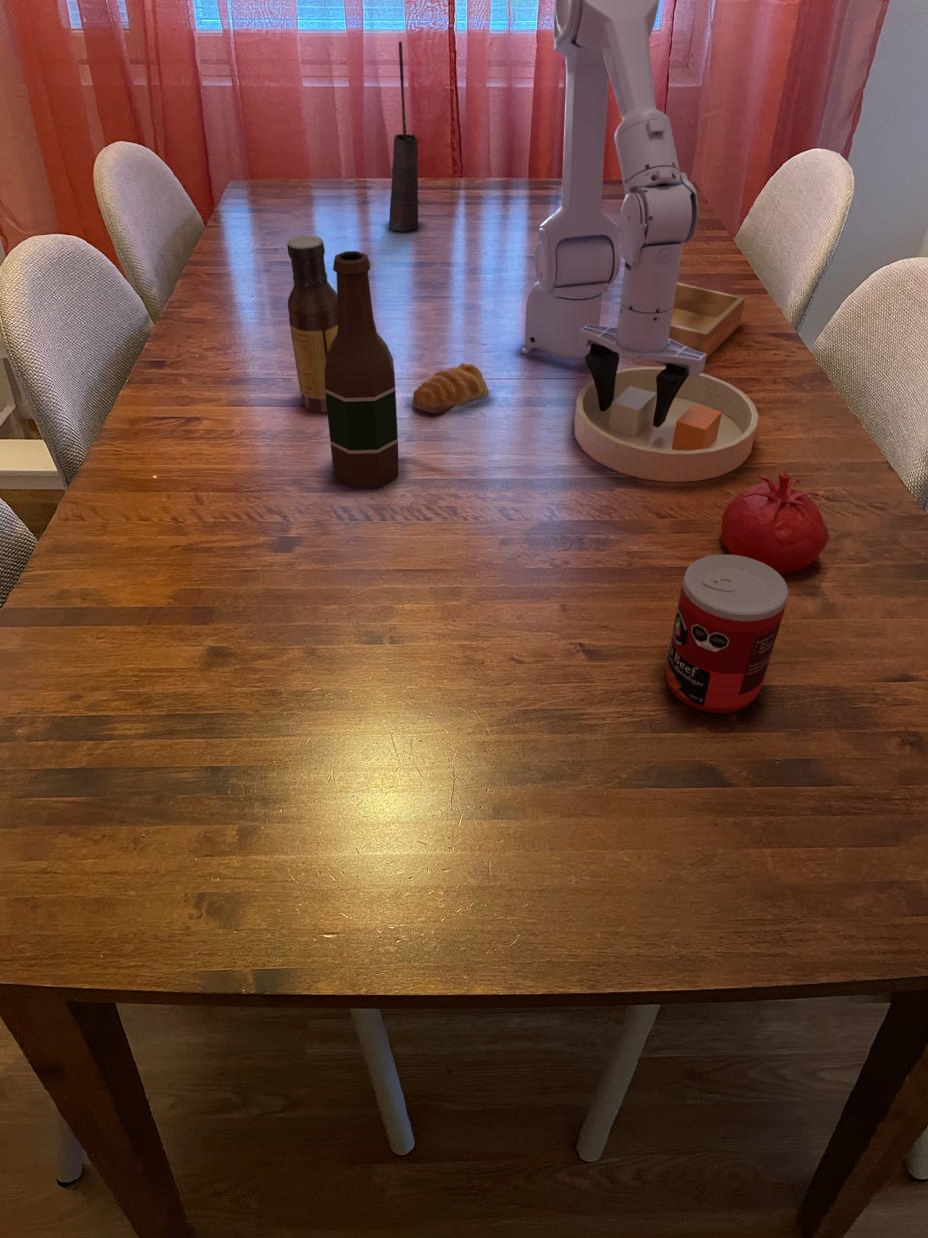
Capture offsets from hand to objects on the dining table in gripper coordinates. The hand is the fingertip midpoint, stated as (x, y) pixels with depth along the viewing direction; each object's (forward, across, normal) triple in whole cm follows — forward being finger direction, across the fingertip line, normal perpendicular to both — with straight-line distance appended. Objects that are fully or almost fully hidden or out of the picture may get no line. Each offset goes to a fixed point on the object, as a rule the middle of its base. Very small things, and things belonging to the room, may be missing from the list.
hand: (632, 415), depth 111 cm
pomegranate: (+2, +22, -15) cm, 27 cm away
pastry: (+2, -22, -5) cm, 23 cm away
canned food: (+2, +24, -35) cm, 43 cm away
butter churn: (+2, -63, +43) cm, 76 cm away
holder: (+2, -6, +29) cm, 30 cm away
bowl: (+2, +4, 0) cm, 5 cm away
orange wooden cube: (+1, +8, 0) cm, 8 cm away
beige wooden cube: (+1, 0, 0) cm, 1 cm away
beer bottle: (+2, -21, -24) cm, 32 cm away
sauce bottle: (+2, -35, -14) cm, 38 cm away
